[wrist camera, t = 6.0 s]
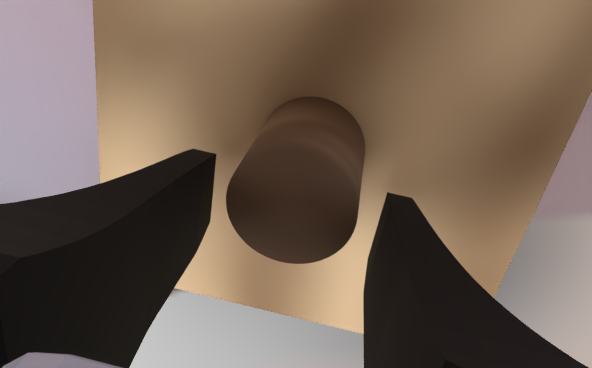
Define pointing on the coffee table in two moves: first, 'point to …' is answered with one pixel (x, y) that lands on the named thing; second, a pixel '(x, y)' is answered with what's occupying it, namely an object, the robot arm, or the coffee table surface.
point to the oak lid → (343, 129)
